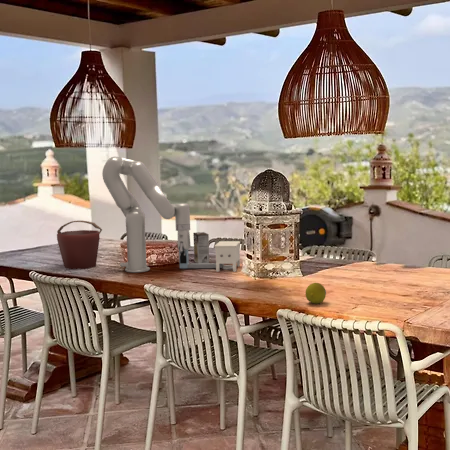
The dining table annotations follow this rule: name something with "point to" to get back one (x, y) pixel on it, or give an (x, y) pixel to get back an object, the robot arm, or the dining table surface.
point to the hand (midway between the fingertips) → (184, 262)
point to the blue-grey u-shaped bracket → (196, 265)
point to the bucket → (79, 247)
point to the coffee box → (201, 247)
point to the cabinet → (227, 253)
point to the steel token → (227, 267)
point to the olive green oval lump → (315, 293)
